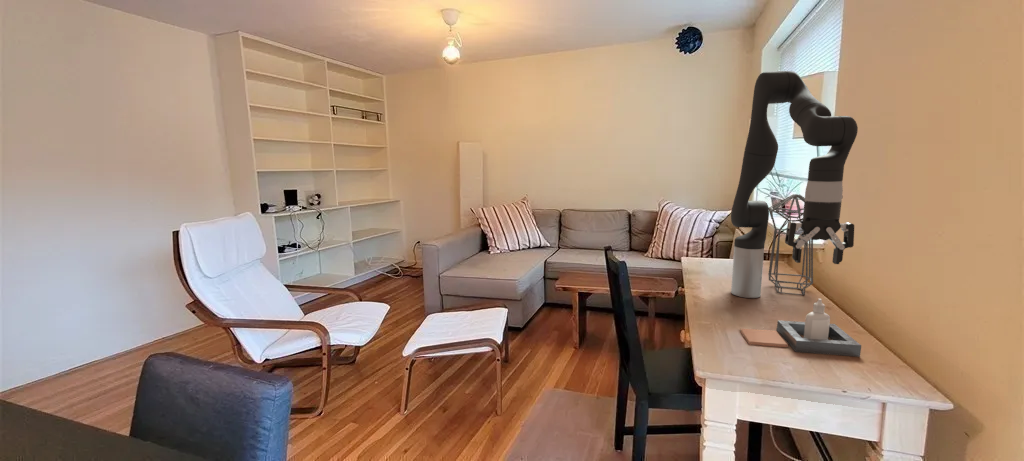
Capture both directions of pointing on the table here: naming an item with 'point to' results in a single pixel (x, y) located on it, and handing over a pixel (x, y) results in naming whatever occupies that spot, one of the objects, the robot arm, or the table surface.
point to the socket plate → (818, 340)
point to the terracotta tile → (763, 337)
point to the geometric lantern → (779, 241)
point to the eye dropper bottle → (817, 322)
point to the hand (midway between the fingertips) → (816, 262)
